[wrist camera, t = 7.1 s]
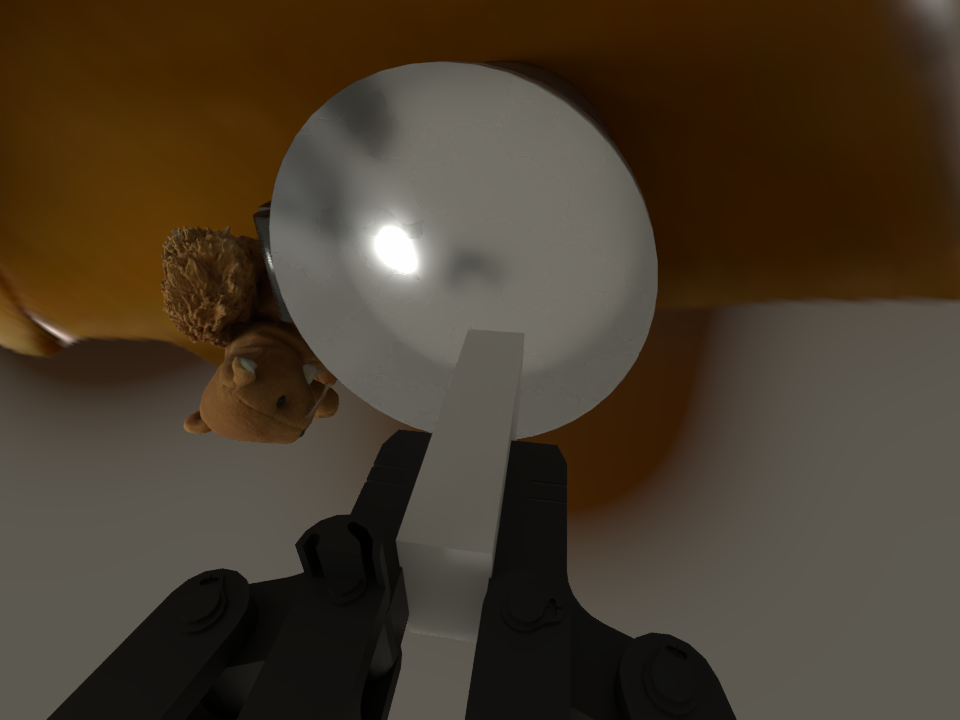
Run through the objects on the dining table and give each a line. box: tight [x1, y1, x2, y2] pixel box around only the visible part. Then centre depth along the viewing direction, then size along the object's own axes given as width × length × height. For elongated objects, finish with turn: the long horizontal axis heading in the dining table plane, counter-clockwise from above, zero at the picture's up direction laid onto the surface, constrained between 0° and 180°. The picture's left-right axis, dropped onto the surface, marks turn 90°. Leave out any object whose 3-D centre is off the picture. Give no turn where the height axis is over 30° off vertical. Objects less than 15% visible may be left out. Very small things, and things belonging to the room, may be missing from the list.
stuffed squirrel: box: [160, 226, 339, 444], centre depth 30 cm, size 10×14×13 cm
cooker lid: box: [253, 61, 658, 439], centre depth 18 cm, size 15×15×1 cm
